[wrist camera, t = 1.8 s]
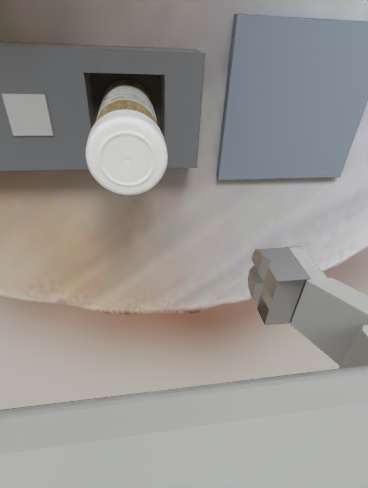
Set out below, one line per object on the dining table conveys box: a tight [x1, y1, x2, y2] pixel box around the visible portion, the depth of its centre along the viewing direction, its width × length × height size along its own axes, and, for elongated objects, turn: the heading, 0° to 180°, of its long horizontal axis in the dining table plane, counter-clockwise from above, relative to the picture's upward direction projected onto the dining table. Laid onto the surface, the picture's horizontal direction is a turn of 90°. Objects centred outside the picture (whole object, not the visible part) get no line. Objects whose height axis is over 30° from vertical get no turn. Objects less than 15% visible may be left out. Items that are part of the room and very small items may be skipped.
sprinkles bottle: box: [86, 79, 168, 195], centre depth 22 cm, size 5×5×14 cm
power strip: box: [0, 42, 205, 171], centre depth 25 cm, size 9×24×4 cm, turn 88°
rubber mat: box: [217, 14, 368, 180], centre depth 29 cm, size 14×14×1 cm
